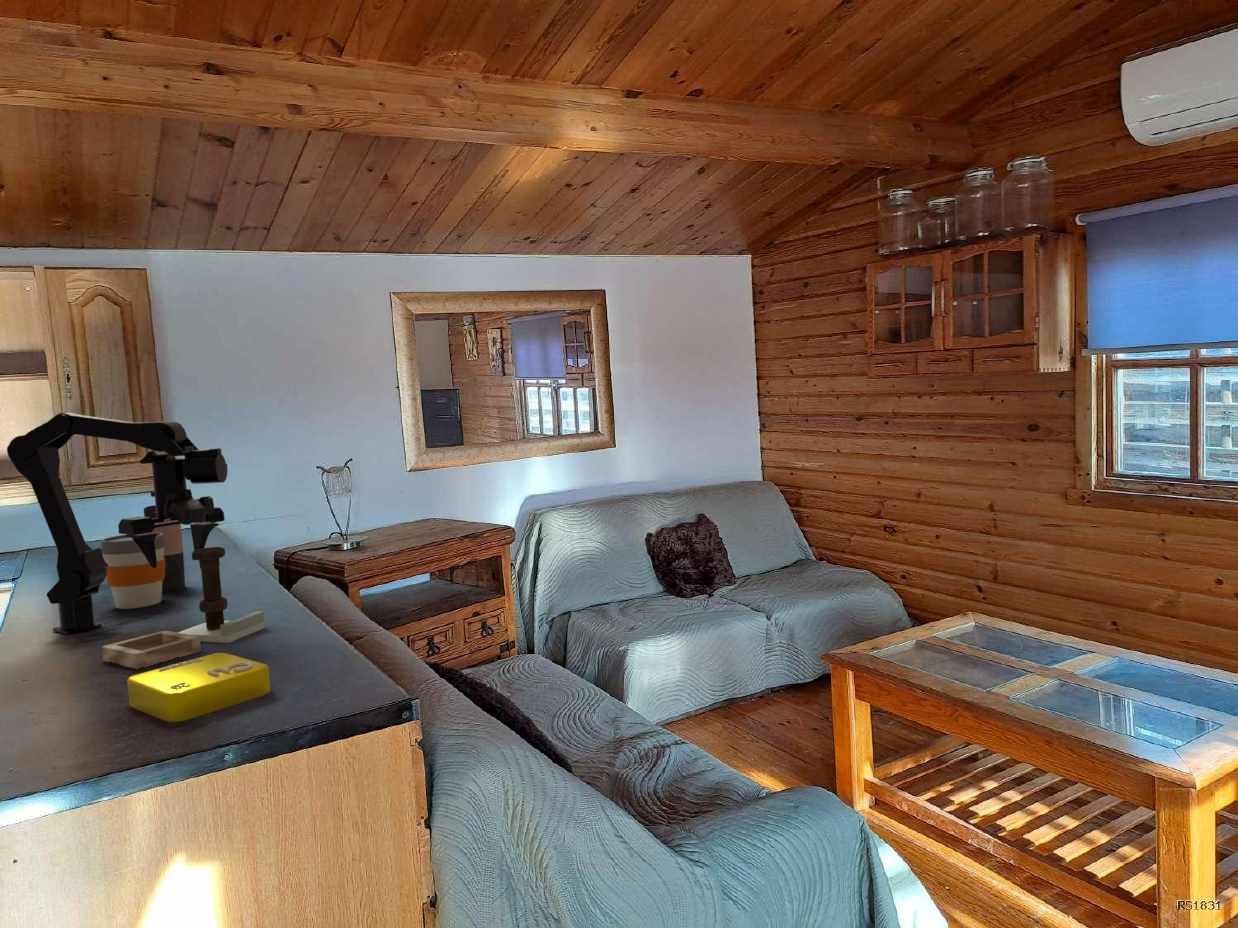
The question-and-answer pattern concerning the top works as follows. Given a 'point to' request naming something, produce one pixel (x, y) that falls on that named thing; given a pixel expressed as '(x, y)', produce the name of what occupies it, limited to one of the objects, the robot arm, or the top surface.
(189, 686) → the element tile
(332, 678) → the top surface
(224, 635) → the pale green ledge plate
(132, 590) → the reusable coffee cup
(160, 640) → the socket
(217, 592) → the bolt
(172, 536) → the travel mug
